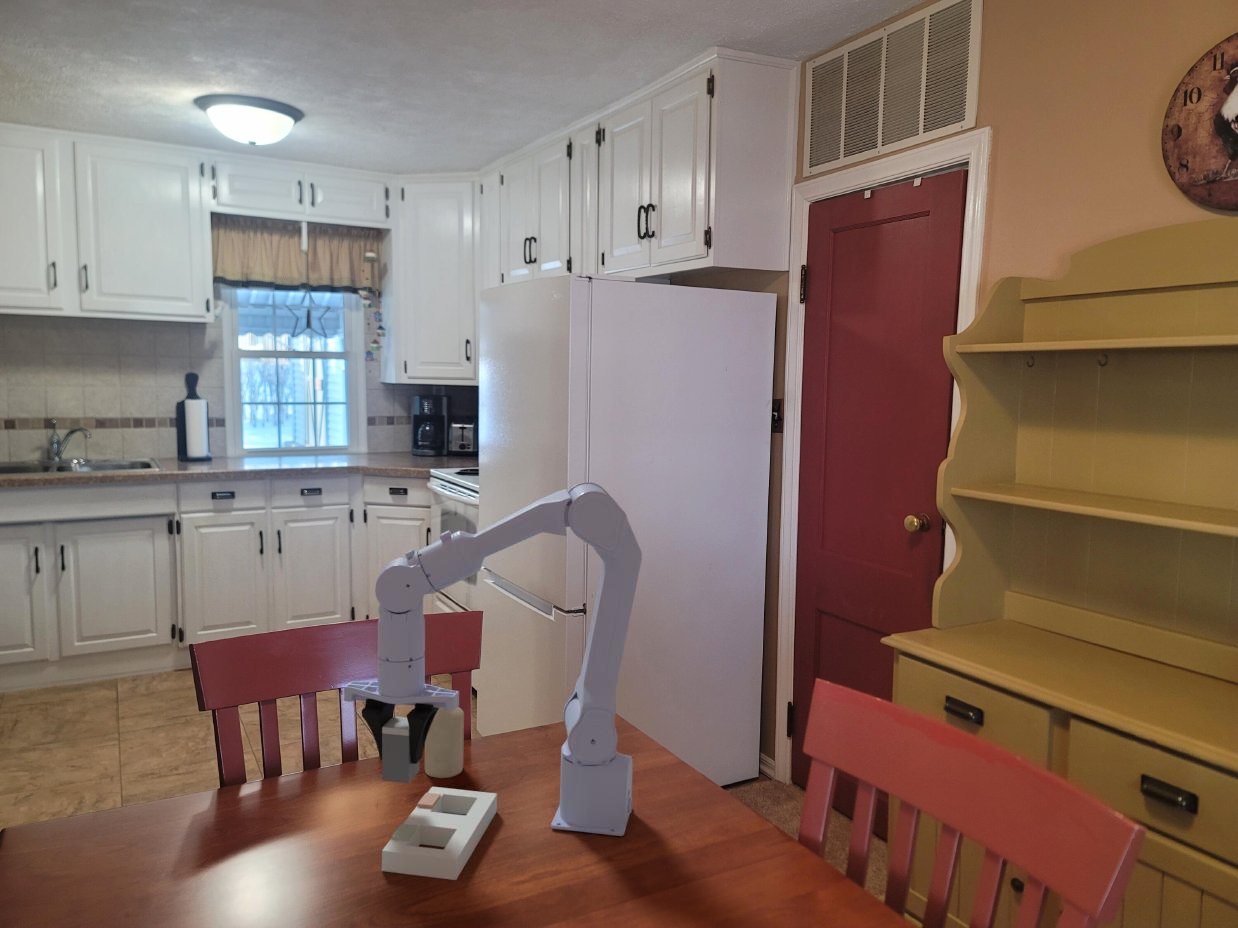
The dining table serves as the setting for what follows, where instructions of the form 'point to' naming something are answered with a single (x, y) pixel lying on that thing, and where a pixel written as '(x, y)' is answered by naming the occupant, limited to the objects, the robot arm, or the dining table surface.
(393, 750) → the plug
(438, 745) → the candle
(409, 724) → the robot arm
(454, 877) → the socket strip
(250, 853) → the dining table surface
